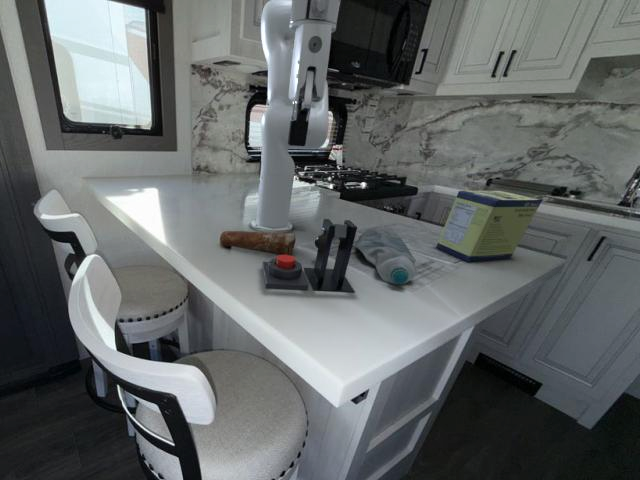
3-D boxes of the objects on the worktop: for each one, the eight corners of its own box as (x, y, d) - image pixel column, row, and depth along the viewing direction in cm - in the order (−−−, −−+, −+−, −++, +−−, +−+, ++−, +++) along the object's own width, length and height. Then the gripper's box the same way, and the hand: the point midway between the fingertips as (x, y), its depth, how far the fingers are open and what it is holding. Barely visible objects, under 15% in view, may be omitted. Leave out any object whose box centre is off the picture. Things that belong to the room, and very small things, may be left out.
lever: (312, 250, 69) (313, 236, 68) (326, 251, 69) (327, 236, 69) (331, 239, 56) (332, 221, 56) (348, 239, 56) (349, 222, 56)
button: (275, 262, 62) (276, 254, 61) (292, 262, 62) (293, 254, 61) (276, 269, 59) (278, 261, 58) (295, 270, 59) (296, 262, 58)
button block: (261, 270, 66) (263, 253, 64) (298, 272, 67) (301, 255, 65) (265, 293, 58) (267, 274, 56) (306, 295, 58) (310, 276, 56)
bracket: (302, 272, 67) (312, 214, 60) (338, 274, 67) (352, 216, 60) (311, 295, 58) (325, 230, 52) (353, 297, 58) (371, 232, 52)
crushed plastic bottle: (350, 246, 82) (357, 286, 61) (359, 220, 79) (369, 253, 57) (401, 257, 80) (425, 302, 59) (412, 231, 77) (443, 269, 55)
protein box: (511, 258, 81) (544, 199, 73) (467, 262, 77) (497, 199, 69) (475, 244, 90) (501, 190, 82) (434, 247, 86) (457, 190, 78)
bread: (291, 261, 72) (294, 238, 69) (216, 248, 77) (216, 226, 74) (295, 252, 77) (299, 230, 74) (225, 240, 82) (226, 219, 79)
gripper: (350, 7, 43) (324, 151, 53) (325, 29, 55) (308, 142, 65) (297, 3, 43) (281, 149, 53) (284, 26, 55) (273, 140, 65)
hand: (296, 145), depth 59 cm, fingers closed
